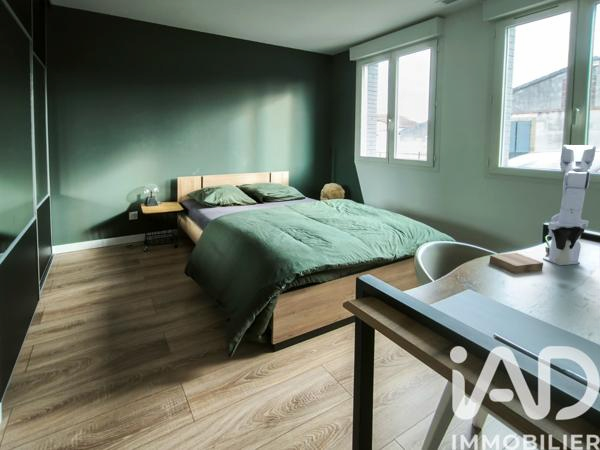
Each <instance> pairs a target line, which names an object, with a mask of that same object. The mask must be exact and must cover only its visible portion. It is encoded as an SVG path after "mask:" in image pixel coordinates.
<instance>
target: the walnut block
mask: <svg viewBox="0 0 600 450" xmlns="http://www.w3.org/2000/svg"><path fill="white" fill-rule="evenodd" d="M489 264H491V265H493V266H495V267H496V268H497V267H498V268H500V269H502V270H505V271H507V272H508V273H509V272H510V273H511V274H514V275H518V274H524V273H525V274H528V273H532V272H533V273H535V272H542V271H543V267H544V262H543V261H539V260H537V259H533V258H531V257H529V256H526V255H523V254H520V253H517V252H511V253H501V254H492V255H491V254H490V256H489Z"/></svg>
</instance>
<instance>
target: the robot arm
mask: <svg viewBox="0 0 600 450" xmlns="http://www.w3.org/2000/svg"><path fill="white" fill-rule="evenodd" d="M596 149H597V148H596V145H595V144H592V145H590V144H589V145H586V144H585V145H583V144H579V145H578V144H577V145H576V144H575V145H572V144H570V145H569V144H563V146H562V147H561V155H560V162H559V163H560V164H559V165H560V169H561V170H564V171H565V173H564V176H563V181H562V197H561V205H560V208H559V213H557V214H555V215H553V216H552V217H551V219H550V222H548V226H547V229H548V234H547V235H548V237H551V242H550V247H549V253H548V254H549V255H548V256H544V257H542V260H545V261H548V262H550V263H553V264H556V265H559V266H562V265H561V264H557V263H556V262H555V260H556V259H555V258H556V257H557V255H558V254H559V251H560V250H564V248H565V244H566V241H567V240H568V241H569V240H570V242H571V245H570V246H569V247H570V249H569V257H570V259H571V261H570V264H569V265H577V264H580V263H581V262H580V261H579V259H580V253H581V243H580V241H579V240H580V239H581V237H582V236H581V235H582V234H583V233H585V228H588V227H589V222H590V221H589V220H586V219H582V218H581V216H582V213H583V208H584V207H583V206H584V201H585V197H586V191H587V190H588V188H589V185H590V180H591V172H590V171H589V170H590V169H591V167H592V165H593V161H594V159H595V156H596V155H595V154H596ZM584 227H585V228H584Z"/></svg>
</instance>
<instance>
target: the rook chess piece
mask: <svg viewBox="0 0 600 450" xmlns="http://www.w3.org/2000/svg"><path fill="white" fill-rule="evenodd" d="M570 245H571V242H570V240H569V241H568V240H567V241H566V244H565V248H564V250H560V251H559V254H558V255H557V257H556V258H555V259H556V260H555V262H556V263H557V264H556V263H555V264H556V265H558V264H561V265H560V266H570V265H571V264H570V261H571V259H570V257H569V249H570V247H569V246H570Z"/></svg>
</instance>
